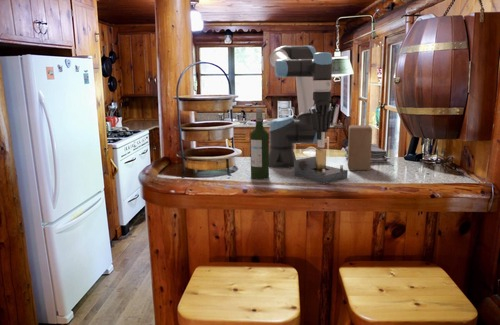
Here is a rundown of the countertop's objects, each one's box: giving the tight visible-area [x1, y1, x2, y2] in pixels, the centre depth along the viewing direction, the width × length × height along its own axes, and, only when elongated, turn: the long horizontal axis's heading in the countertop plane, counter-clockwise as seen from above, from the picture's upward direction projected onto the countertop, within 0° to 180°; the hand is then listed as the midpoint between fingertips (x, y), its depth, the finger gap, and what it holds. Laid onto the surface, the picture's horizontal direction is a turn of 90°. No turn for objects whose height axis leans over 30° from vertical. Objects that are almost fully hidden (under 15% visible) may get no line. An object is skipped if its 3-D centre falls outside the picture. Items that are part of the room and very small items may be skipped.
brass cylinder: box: [315, 148, 327, 171], centre depth 171 cm, size 4×4×12 cm
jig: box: [293, 155, 349, 184], centre depth 172 cm, size 18×14×7 cm
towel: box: [344, 143, 389, 164], centre depth 206 cm, size 15×18×8 cm
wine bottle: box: [249, 107, 270, 180], centre depth 171 cm, size 8×8×30 cm
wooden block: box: [347, 124, 373, 172], centre depth 186 cm, size 10×10×20 cm
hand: (321, 147), depth 170 cm, fingers closed
